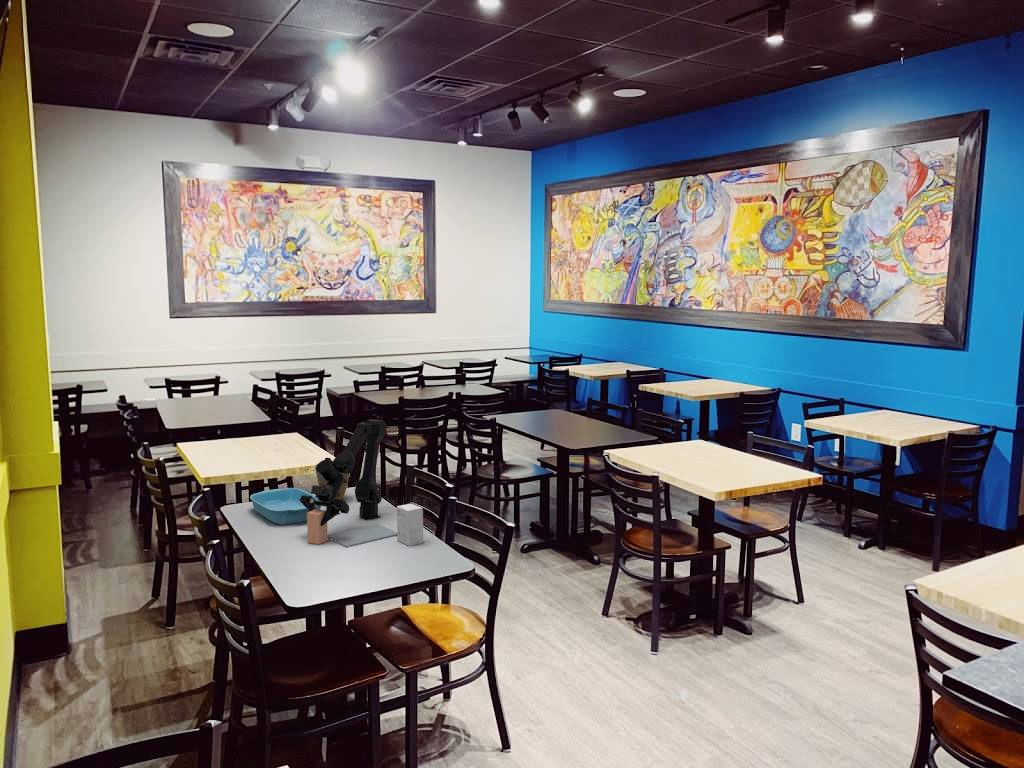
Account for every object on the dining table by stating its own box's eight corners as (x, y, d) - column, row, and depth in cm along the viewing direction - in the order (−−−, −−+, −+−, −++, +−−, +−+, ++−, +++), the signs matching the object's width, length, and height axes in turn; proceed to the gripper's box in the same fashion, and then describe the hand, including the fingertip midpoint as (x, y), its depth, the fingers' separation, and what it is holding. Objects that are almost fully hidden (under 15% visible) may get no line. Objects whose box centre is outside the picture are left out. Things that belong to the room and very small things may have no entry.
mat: (377, 524, 302) (377, 523, 302) (399, 535, 290) (399, 533, 290) (325, 536, 288) (325, 534, 288) (346, 547, 276) (346, 545, 276)
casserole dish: (243, 509, 324) (243, 492, 323) (295, 500, 337) (295, 484, 336) (275, 531, 295) (274, 513, 294) (330, 521, 308) (330, 503, 307)
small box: (423, 542, 282) (423, 507, 280) (408, 546, 278) (408, 510, 276) (411, 537, 288) (411, 502, 286) (396, 540, 284) (396, 505, 282)
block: (316, 538, 285) (315, 509, 284) (327, 540, 283) (326, 510, 282) (307, 542, 281) (306, 512, 279) (319, 544, 279) (318, 514, 277)
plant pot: (311, 505, 328) (310, 468, 326) (321, 496, 343) (320, 460, 341) (346, 506, 327) (345, 469, 325) (355, 496, 342) (354, 461, 340)
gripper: (301, 473, 286) (283, 510, 277) (344, 478, 279) (326, 516, 270) (315, 489, 294) (297, 525, 286) (357, 494, 287) (340, 532, 278)
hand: (314, 524), depth 280 cm, fingers closed on block, 5 cm apart
